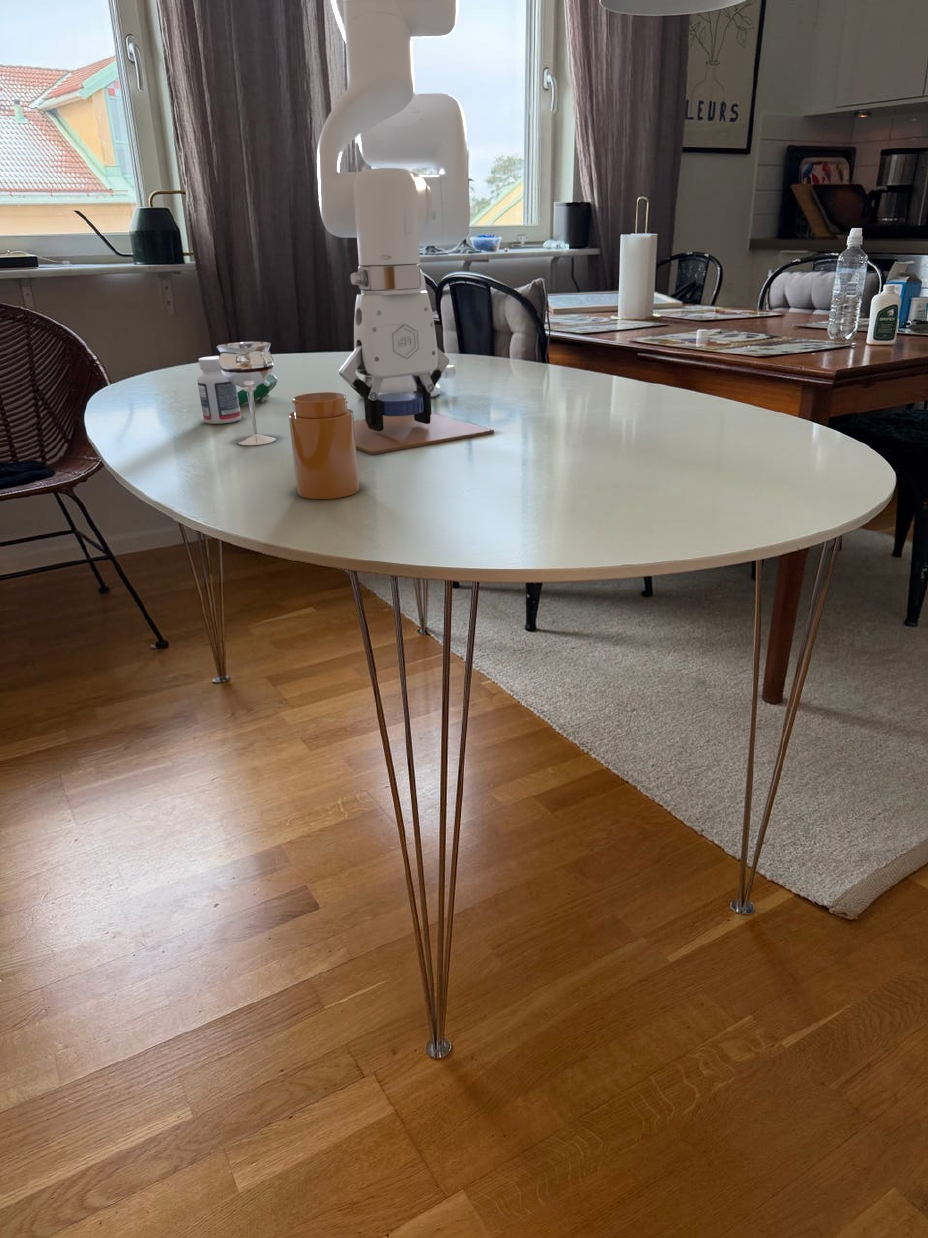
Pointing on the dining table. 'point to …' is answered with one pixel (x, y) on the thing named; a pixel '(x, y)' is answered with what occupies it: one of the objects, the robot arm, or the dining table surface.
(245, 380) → the wineglass
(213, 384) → the pill bottle
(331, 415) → the jar
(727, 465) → the dining table surface
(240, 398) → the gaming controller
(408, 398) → the lid
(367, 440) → the mat
